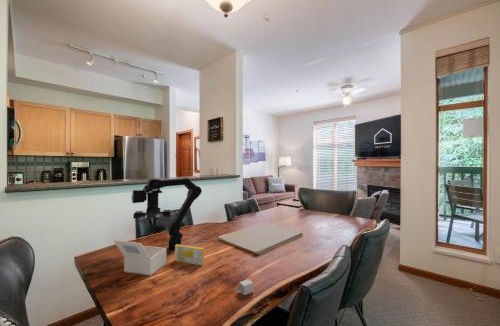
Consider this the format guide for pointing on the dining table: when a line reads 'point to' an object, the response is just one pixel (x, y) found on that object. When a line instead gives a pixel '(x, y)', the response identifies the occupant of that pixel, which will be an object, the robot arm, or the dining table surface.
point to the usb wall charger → (245, 287)
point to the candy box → (189, 254)
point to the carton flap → (132, 249)
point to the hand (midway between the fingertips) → (152, 229)
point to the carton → (146, 262)
